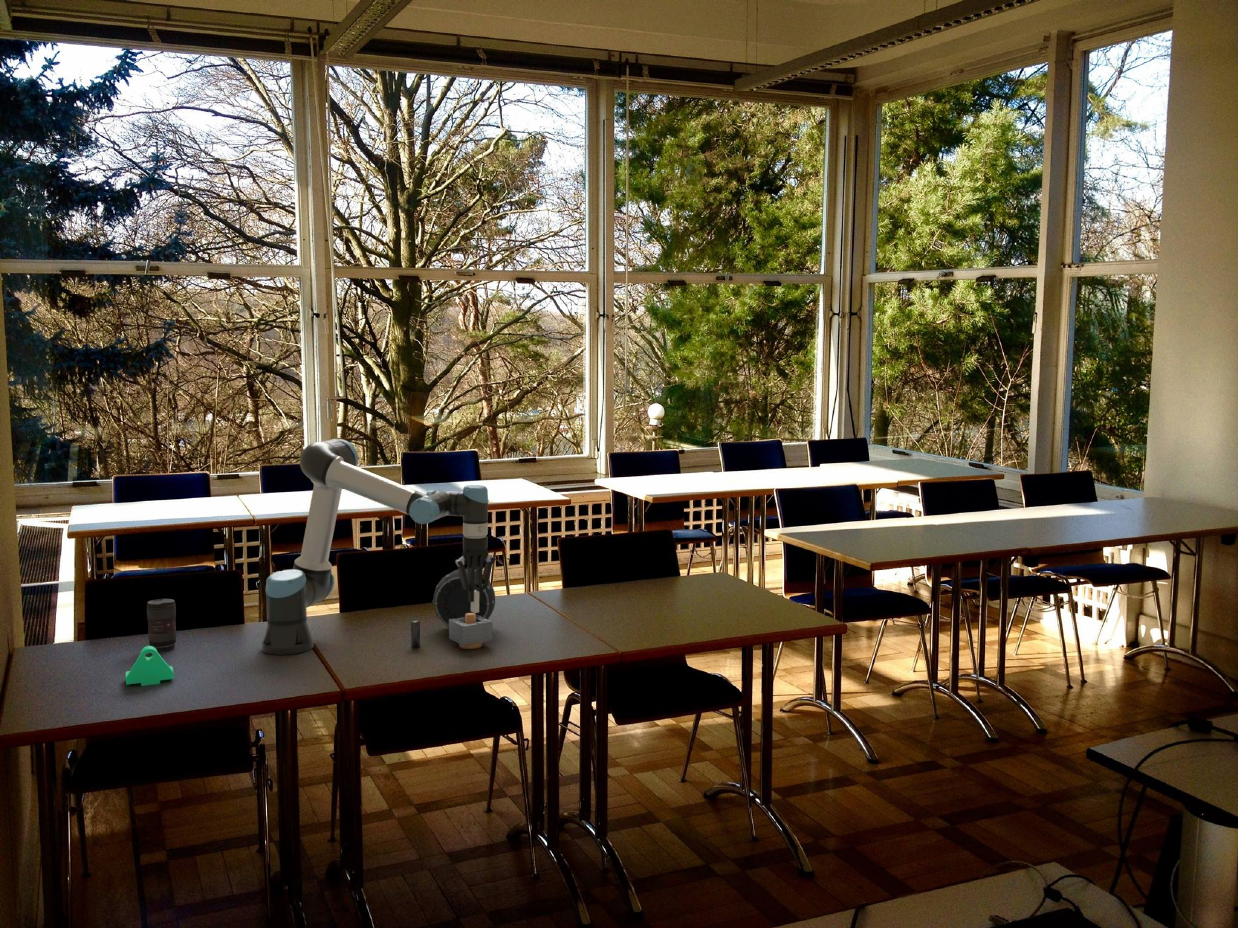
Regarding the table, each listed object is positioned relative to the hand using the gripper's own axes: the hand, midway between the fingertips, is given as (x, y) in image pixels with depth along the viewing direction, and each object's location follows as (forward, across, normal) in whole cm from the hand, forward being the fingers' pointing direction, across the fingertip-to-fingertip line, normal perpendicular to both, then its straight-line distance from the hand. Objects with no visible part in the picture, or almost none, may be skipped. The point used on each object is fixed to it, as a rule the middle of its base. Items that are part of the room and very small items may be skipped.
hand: (474, 611), depth 327 cm
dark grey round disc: (+12, +7, +22) cm, 26 cm away
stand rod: (+12, -14, +12) cm, 22 cm away
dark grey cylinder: (+14, -79, +53) cm, 96 cm away
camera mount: (+14, -89, +22) cm, 93 cm away
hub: (+12, 0, +4) cm, 12 cm away
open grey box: (+10, 0, +4) cm, 10 cm away
